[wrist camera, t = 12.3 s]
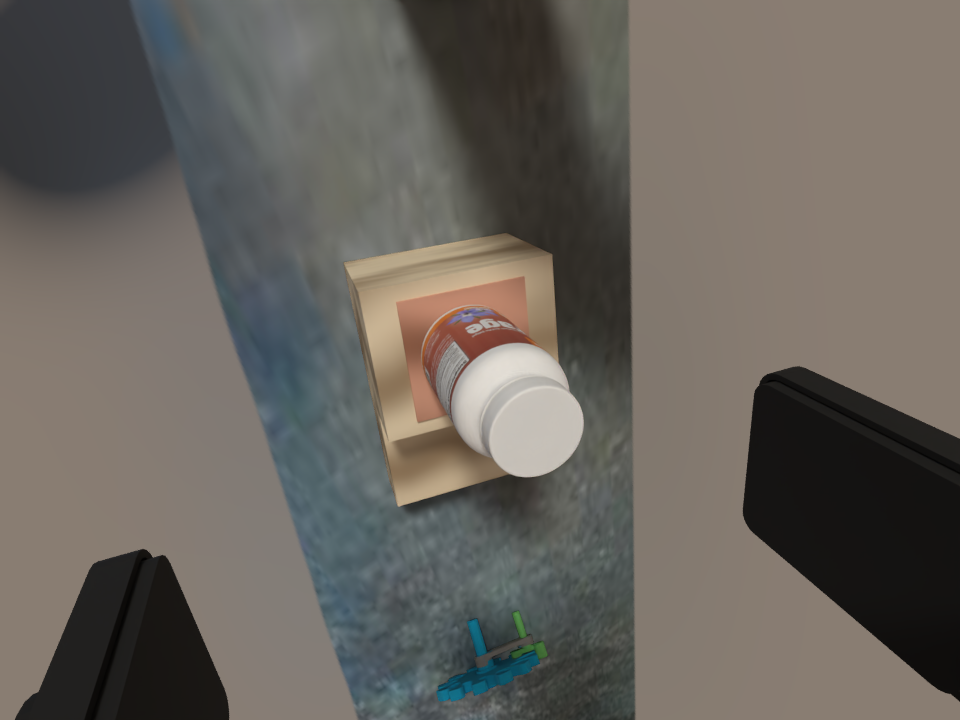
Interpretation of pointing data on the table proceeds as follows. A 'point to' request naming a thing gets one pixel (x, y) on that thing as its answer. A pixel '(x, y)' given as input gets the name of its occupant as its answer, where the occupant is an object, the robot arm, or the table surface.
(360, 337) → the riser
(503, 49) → the table surface
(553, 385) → the pill bottle
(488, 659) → the gear
